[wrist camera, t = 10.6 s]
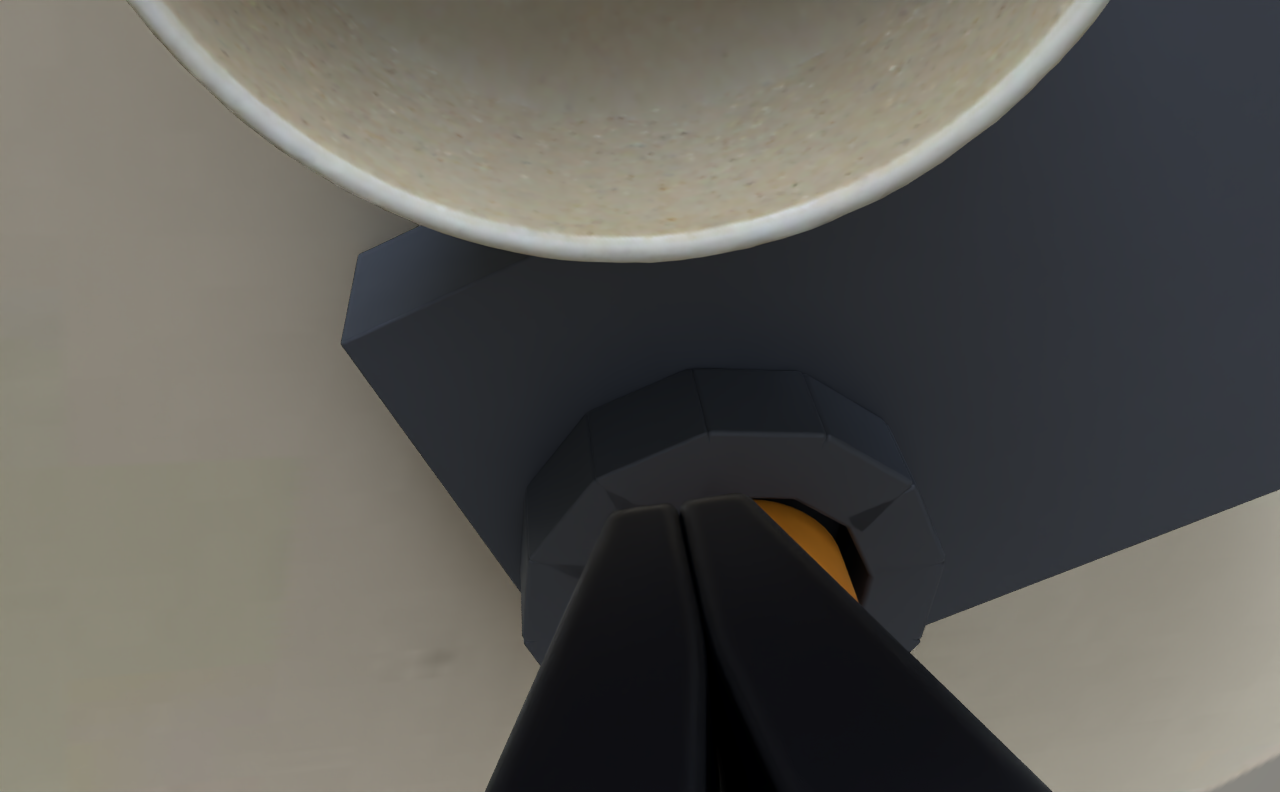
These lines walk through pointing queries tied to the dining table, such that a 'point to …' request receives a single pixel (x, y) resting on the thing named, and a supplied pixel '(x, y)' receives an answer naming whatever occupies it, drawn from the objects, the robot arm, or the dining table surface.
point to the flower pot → (619, 106)
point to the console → (894, 345)
